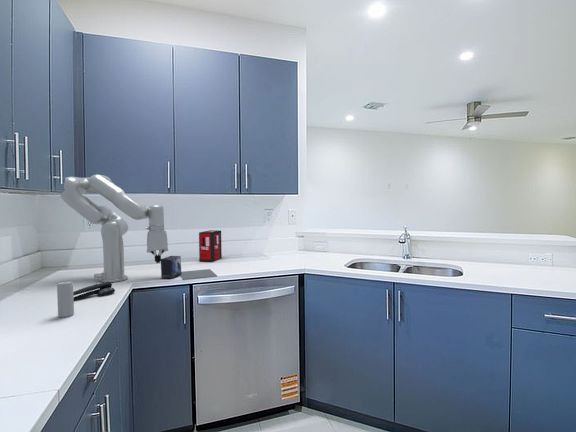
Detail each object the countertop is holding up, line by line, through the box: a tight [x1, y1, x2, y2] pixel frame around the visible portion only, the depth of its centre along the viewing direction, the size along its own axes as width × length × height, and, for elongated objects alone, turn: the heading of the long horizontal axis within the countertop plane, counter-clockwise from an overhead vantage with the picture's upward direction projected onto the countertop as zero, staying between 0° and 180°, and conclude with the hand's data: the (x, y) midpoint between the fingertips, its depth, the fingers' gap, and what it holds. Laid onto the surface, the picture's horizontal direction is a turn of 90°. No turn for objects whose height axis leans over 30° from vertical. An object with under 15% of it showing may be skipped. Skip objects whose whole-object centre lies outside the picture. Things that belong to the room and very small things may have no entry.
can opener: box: [73, 282, 116, 302], centre depth 146 cm, size 18×7×6 cm, turn 140°
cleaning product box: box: [198, 229, 223, 264], centre depth 234 cm, size 16×9×20 cm, turn 168°
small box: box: [160, 255, 182, 280], centre depth 183 cm, size 11×6×10 cm, turn 168°
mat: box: [179, 268, 218, 281], centre depth 189 cm, size 18×20×1 cm
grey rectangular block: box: [56, 280, 75, 318], centre depth 121 cm, size 5×5×12 cm
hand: (157, 262), depth 180 cm, fingers closed
